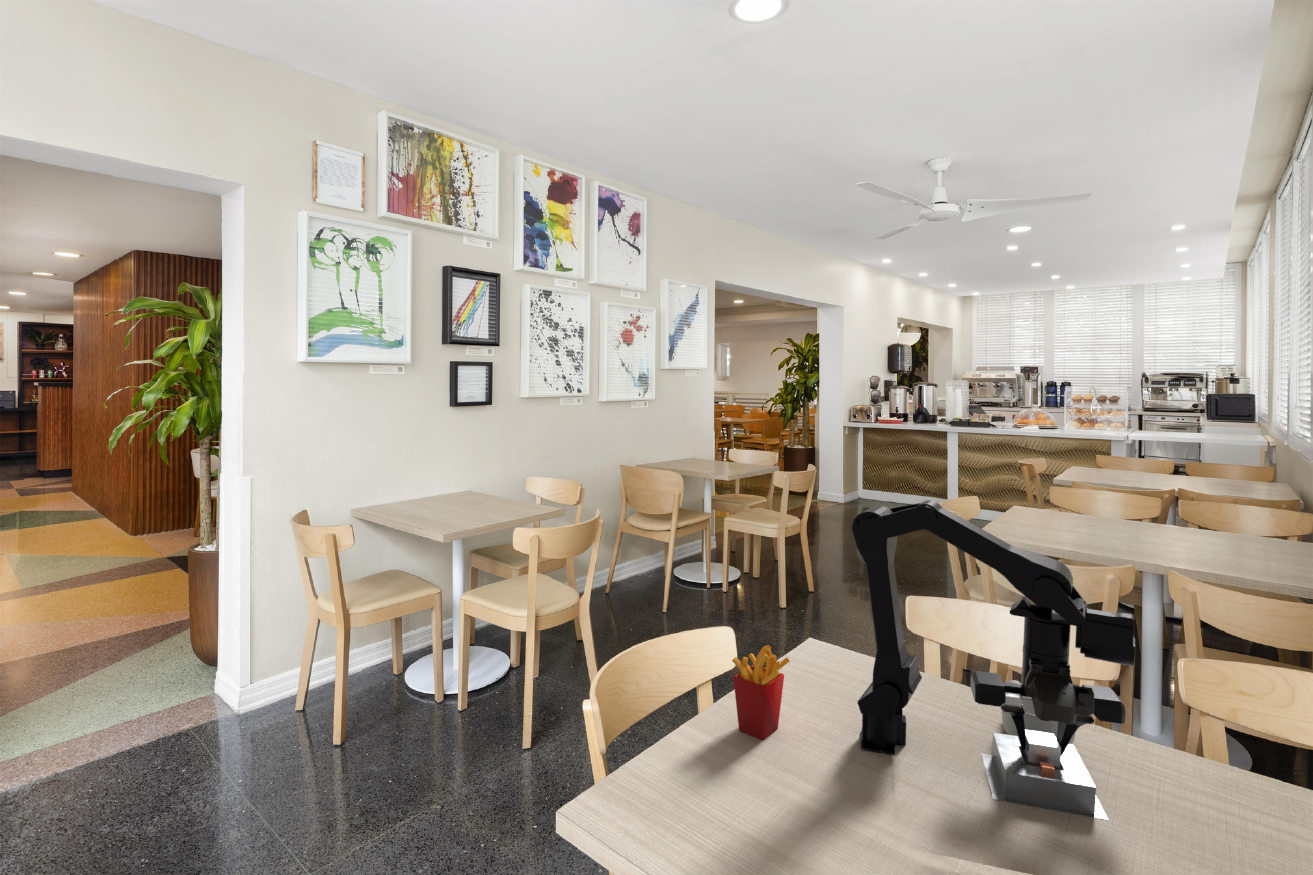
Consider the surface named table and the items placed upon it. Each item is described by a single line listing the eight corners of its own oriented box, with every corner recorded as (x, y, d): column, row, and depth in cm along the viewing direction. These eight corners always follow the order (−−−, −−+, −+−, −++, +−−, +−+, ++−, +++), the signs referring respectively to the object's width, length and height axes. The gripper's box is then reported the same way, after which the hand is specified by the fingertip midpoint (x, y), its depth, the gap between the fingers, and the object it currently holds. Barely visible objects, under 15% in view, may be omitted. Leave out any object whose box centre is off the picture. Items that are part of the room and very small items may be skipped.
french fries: (731, 730, 113) (731, 647, 112) (756, 712, 119) (757, 632, 118) (775, 749, 107) (776, 661, 106) (800, 728, 113) (801, 645, 112)
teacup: (1086, 767, 102) (1089, 718, 101) (1011, 759, 104) (1013, 711, 103) (1051, 721, 115) (1053, 677, 114) (985, 715, 117) (987, 672, 117)
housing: (993, 805, 93) (994, 765, 92) (980, 759, 104) (982, 723, 103) (1108, 826, 88) (1110, 784, 88) (1082, 775, 99) (1084, 738, 99)
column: (1026, 789, 95) (1028, 743, 94) (1020, 772, 99) (1022, 728, 98) (1059, 795, 93) (1061, 748, 93) (1052, 778, 97) (1054, 733, 97)
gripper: (982, 662, 90) (978, 770, 91) (1143, 682, 83) (1136, 797, 85) (971, 632, 100) (968, 729, 101) (1114, 648, 94) (1108, 751, 95)
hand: (1041, 751), depth 95 cm, fingers open, 4 cm apart
